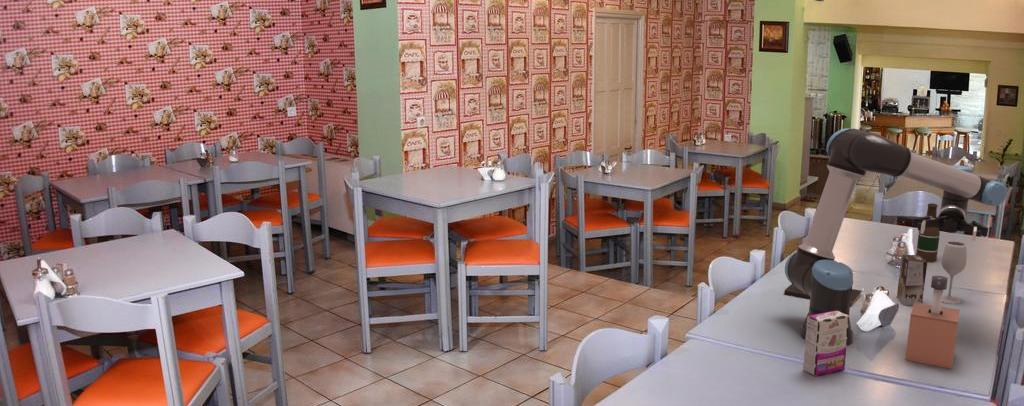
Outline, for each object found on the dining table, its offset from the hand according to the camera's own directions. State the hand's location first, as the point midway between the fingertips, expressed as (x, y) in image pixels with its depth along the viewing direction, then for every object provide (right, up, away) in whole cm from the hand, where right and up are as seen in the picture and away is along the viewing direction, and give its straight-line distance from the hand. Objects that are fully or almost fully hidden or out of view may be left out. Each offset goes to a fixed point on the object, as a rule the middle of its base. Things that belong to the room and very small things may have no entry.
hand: (947, 232), depth 237 cm
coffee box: (+12, -26, +48) cm, 56 cm away
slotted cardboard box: (-6, -37, -1) cm, 37 cm away
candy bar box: (-41, -39, -10) cm, 57 cm away
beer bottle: (+45, -15, +99) cm, 110 cm away
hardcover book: (-16, -25, +54) cm, 62 cm away
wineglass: (+27, -26, +49) cm, 62 cm away
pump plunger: (-7, -34, -3) cm, 35 cm away
